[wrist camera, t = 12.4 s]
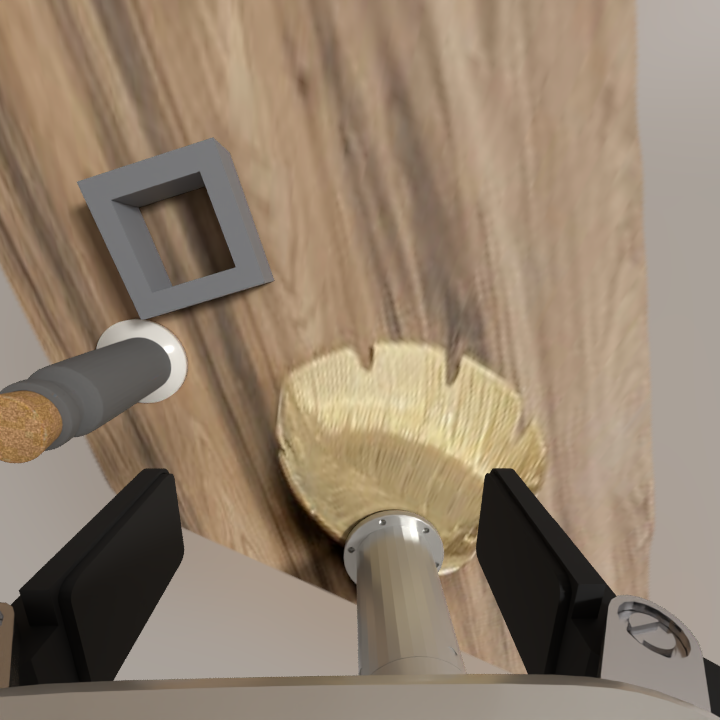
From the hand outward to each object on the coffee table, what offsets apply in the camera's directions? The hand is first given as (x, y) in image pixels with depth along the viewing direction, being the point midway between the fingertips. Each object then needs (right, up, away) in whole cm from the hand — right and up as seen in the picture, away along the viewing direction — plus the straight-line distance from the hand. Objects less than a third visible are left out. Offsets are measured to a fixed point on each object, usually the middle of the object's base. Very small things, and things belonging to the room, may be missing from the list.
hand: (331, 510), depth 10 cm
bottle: (-22, +4, +26) cm, 34 cm away
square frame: (-15, +16, +23) cm, 32 cm away
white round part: (-22, +4, +27) cm, 35 cm away
